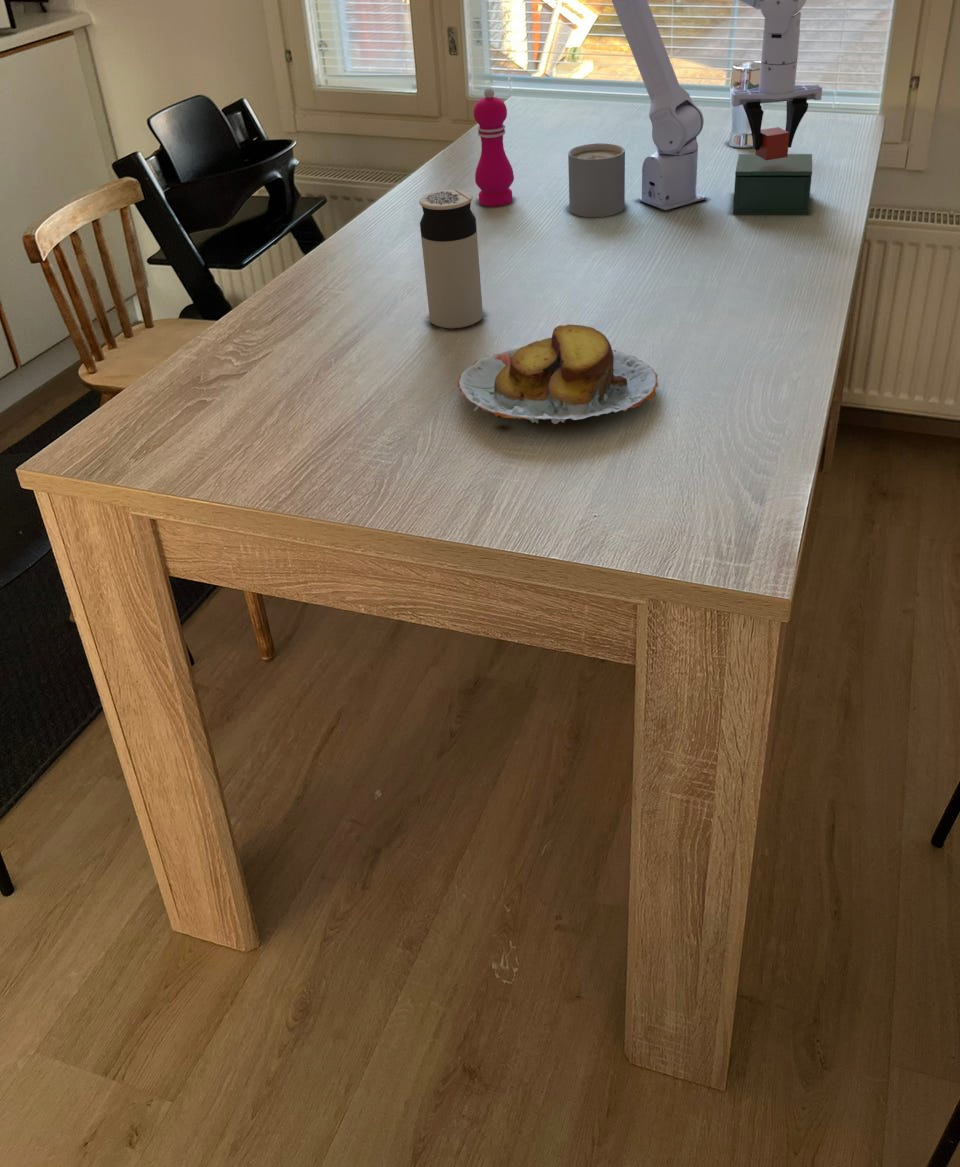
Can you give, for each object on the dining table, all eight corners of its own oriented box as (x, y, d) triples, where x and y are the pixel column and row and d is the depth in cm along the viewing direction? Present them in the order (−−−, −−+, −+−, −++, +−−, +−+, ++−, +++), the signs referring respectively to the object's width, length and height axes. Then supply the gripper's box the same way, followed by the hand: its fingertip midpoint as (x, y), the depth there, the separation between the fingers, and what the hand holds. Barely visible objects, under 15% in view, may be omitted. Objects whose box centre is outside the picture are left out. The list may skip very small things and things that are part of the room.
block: (787, 157, 190) (789, 132, 188) (765, 160, 190) (767, 135, 187) (776, 151, 194) (778, 126, 191) (755, 154, 193) (756, 130, 191)
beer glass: (764, 147, 226) (770, 67, 217) (729, 149, 226) (734, 70, 218) (758, 137, 232) (764, 59, 223) (724, 140, 232) (728, 62, 223)
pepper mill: (516, 194, 213) (510, 82, 201) (513, 206, 207) (507, 91, 195) (478, 196, 214) (470, 84, 202) (474, 208, 208) (466, 94, 196)
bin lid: (811, 175, 189) (812, 171, 188) (735, 175, 191) (735, 171, 191) (811, 158, 197) (812, 153, 197) (738, 158, 200) (738, 154, 200)
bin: (807, 214, 193) (811, 176, 189) (732, 214, 196) (735, 176, 192) (807, 194, 201) (811, 158, 197) (736, 194, 204) (738, 158, 200)
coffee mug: (617, 218, 198) (617, 160, 192) (563, 216, 201) (561, 158, 195) (633, 194, 208) (634, 138, 202) (581, 192, 211) (580, 137, 205)
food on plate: (422, 395, 148) (417, 349, 144) (564, 338, 160) (563, 294, 156) (549, 464, 131) (548, 414, 127) (697, 394, 143) (699, 346, 139)
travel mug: (437, 333, 164) (424, 210, 153) (424, 313, 170) (411, 194, 159) (489, 324, 165) (480, 201, 154) (475, 304, 171) (465, 185, 161)
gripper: (817, 52, 186) (808, 137, 194) (729, 59, 186) (724, 143, 194) (828, 61, 180) (819, 148, 188) (738, 68, 181) (732, 155, 189)
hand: (772, 147), depth 191 cm, fingers closed on block, 5 cm apart
